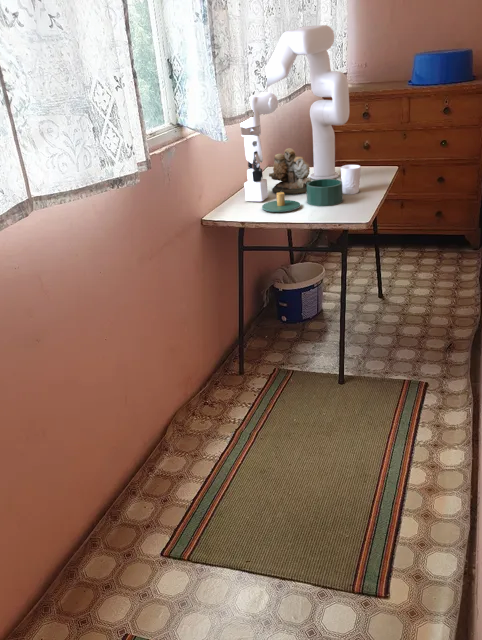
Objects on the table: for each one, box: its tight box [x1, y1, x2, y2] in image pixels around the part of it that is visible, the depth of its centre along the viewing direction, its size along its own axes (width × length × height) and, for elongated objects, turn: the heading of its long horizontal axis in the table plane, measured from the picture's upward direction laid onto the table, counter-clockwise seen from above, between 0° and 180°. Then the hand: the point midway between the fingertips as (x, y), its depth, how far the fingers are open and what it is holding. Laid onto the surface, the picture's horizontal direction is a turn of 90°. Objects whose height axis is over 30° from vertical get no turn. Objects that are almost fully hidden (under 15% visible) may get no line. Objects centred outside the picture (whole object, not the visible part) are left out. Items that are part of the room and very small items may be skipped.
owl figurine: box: [268, 147, 312, 196], centre depth 249 cm, size 18×12×17 cm, turn 76°
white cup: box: [340, 164, 362, 195], centre depth 243 cm, size 8×8×10 cm
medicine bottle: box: [243, 167, 269, 202], centre depth 241 cm, size 7×7×12 cm
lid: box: [261, 191, 301, 213], centre depth 230 cm, size 15×15×6 cm
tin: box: [306, 178, 344, 207], centre depth 234 cm, size 14×14×7 cm
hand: (255, 179), depth 240 cm, fingers closed on medicine bottle, 6 cm apart
